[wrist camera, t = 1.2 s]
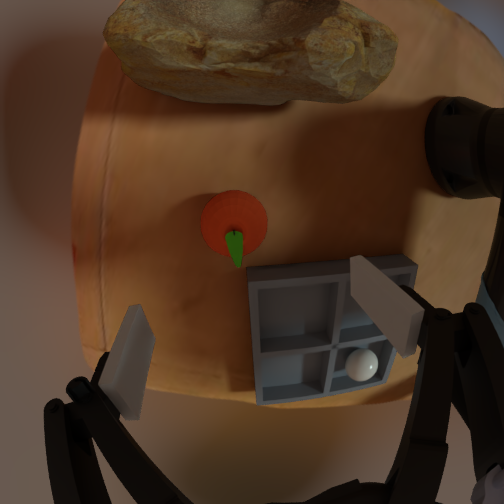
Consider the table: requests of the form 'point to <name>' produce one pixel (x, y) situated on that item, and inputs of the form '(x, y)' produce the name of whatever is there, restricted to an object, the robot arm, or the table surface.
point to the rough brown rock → (252, 49)
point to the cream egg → (361, 364)
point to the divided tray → (314, 328)
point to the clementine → (234, 224)
